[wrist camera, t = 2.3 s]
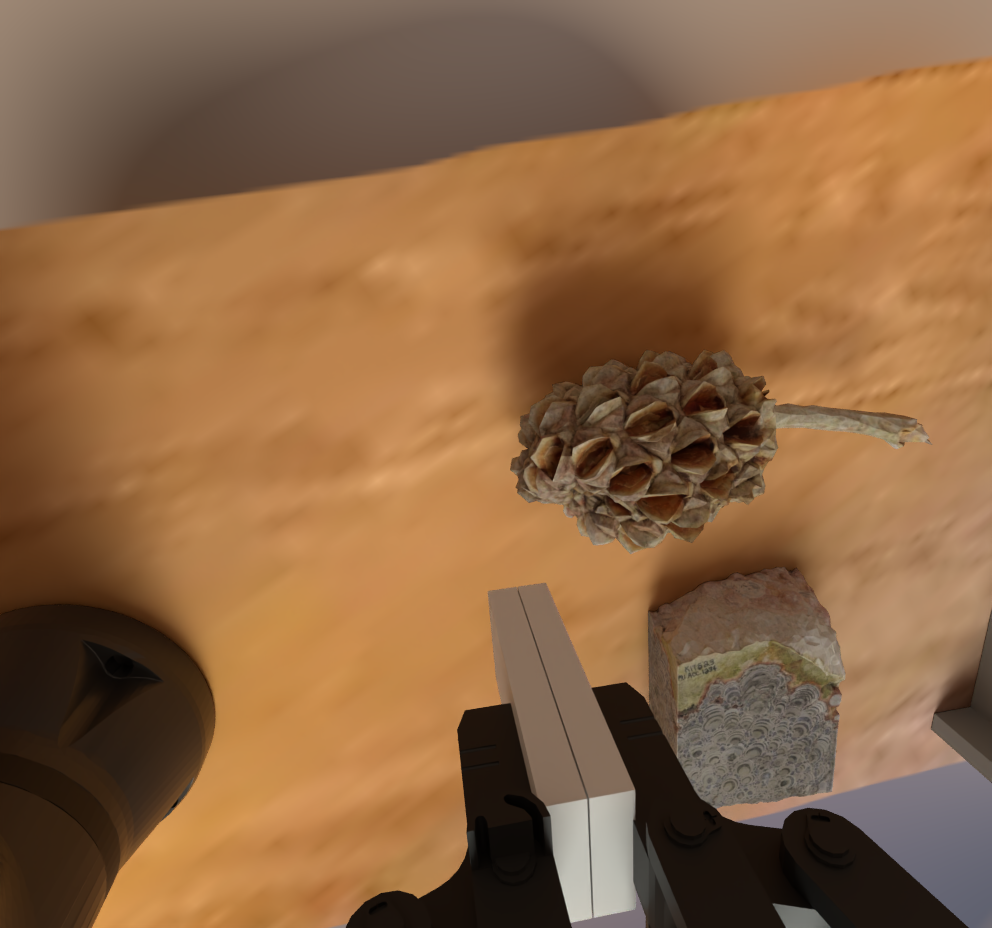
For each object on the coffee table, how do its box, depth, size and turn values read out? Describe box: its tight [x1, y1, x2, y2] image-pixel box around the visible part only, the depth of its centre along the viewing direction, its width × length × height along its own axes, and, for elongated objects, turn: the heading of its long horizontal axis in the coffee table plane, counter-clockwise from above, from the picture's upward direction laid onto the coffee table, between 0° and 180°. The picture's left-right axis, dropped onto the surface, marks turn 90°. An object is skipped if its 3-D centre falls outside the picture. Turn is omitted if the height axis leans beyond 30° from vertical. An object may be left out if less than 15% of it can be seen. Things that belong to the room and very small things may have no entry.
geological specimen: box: [648, 567, 845, 809], centre depth 39 cm, size 11×6×15 cm
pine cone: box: [510, 350, 932, 554], centre depth 30 cm, size 22×10×10 cm, turn 97°
